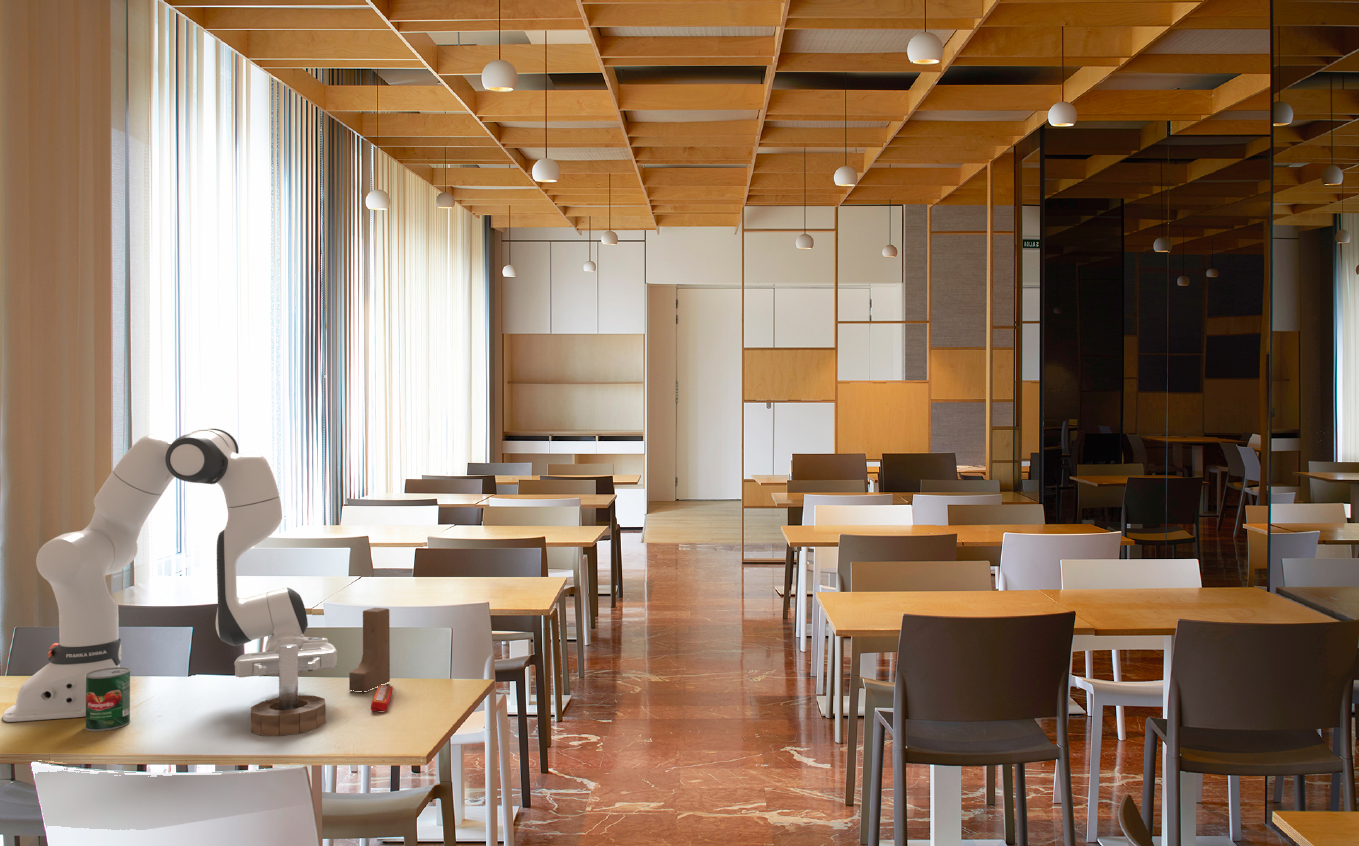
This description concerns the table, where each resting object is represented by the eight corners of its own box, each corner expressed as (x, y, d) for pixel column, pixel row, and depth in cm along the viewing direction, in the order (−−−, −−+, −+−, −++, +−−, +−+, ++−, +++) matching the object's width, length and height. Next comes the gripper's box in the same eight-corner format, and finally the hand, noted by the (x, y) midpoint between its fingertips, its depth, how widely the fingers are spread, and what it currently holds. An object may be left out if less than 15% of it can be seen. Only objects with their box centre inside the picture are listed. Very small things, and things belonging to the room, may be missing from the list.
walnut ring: (250, 739, 180) (250, 719, 180) (251, 719, 193) (251, 700, 193) (327, 729, 186) (327, 709, 186) (323, 710, 198) (323, 692, 198)
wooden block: (363, 693, 212) (363, 615, 212) (348, 691, 213) (348, 613, 214) (390, 683, 220) (390, 608, 220) (375, 682, 222) (375, 607, 222)
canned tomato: (86, 734, 184) (86, 679, 185) (84, 724, 191) (84, 671, 191) (132, 726, 189) (132, 672, 189) (128, 717, 195) (128, 665, 196)
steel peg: (279, 728, 187) (278, 649, 187) (278, 723, 190) (278, 645, 190) (298, 725, 188) (298, 647, 189) (297, 721, 192) (297, 643, 192)
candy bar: (387, 714, 196) (387, 700, 196) (369, 716, 196) (369, 702, 196) (393, 694, 212) (393, 681, 212) (377, 695, 211) (377, 682, 211)
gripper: (234, 646, 201) (232, 659, 188) (334, 637, 209) (338, 649, 197) (234, 675, 201) (232, 690, 188) (334, 664, 209) (338, 679, 196)
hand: (287, 669), depth 192 cm, fingers open, 8 cm apart
